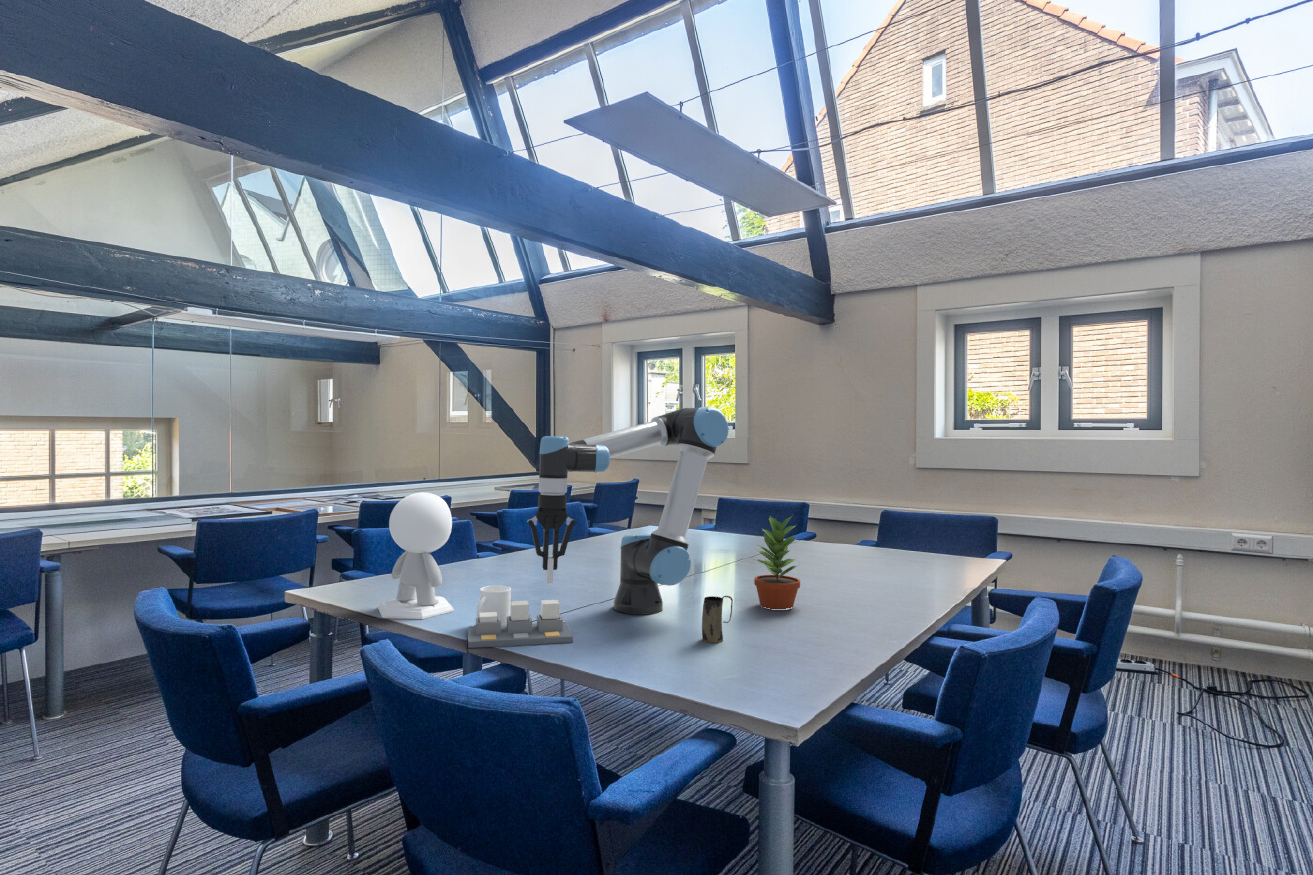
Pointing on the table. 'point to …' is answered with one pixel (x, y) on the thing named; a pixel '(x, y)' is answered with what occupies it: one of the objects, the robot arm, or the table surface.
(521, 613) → the button
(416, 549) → the white toy figurine
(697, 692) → the table surface
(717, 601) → the mug
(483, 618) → the button
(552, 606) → the button
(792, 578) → the potted plant
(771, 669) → the table surface
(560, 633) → the board
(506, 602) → the mug
